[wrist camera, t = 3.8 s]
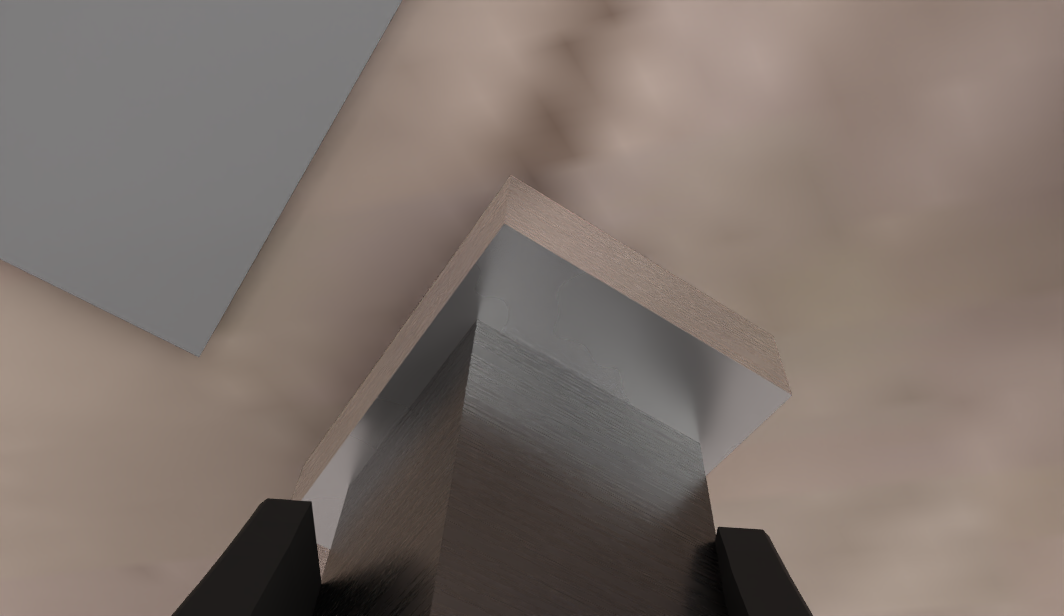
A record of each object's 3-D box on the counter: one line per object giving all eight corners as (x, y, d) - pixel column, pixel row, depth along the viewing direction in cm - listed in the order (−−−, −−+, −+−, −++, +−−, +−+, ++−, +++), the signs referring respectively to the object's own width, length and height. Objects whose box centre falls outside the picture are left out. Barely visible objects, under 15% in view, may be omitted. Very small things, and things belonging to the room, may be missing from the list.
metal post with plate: (773, 336, 15) (940, 866, 8) (533, 575, 18) (508, 1089, 11) (510, 174, 13) (445, 651, 7) (303, 465, 17) (120, 978, 10)
